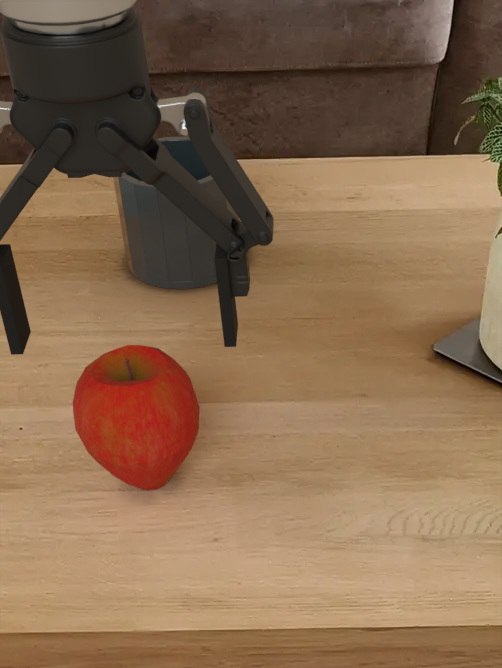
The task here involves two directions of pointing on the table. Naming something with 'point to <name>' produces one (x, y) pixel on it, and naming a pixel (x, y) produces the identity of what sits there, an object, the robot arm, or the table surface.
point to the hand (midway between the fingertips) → (127, 340)
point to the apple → (136, 414)
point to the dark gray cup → (167, 227)
